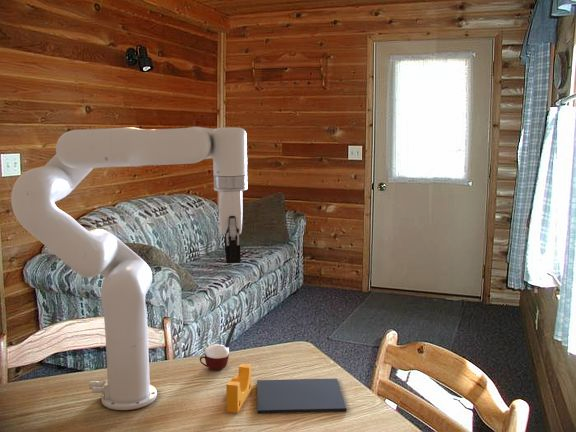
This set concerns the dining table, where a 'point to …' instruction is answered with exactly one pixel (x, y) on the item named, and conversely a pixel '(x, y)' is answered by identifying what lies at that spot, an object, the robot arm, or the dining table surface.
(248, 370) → the pipe clamp
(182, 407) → the dining table surface
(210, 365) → the cocoa
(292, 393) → the mat
